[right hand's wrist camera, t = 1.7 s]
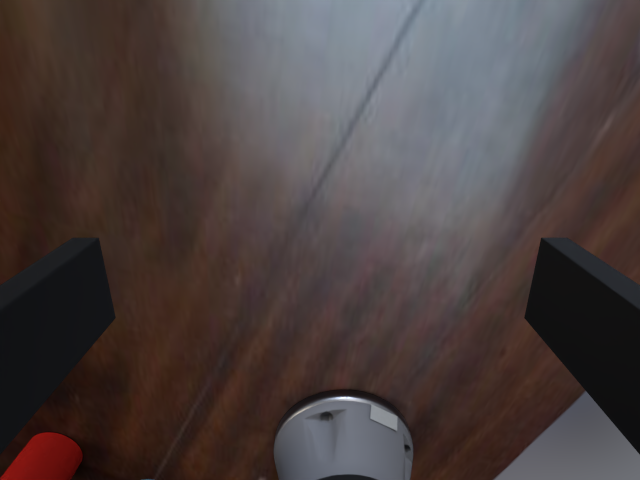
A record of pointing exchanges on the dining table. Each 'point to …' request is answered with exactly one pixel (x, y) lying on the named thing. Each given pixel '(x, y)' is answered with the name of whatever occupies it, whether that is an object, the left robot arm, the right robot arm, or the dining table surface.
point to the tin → (46, 459)
